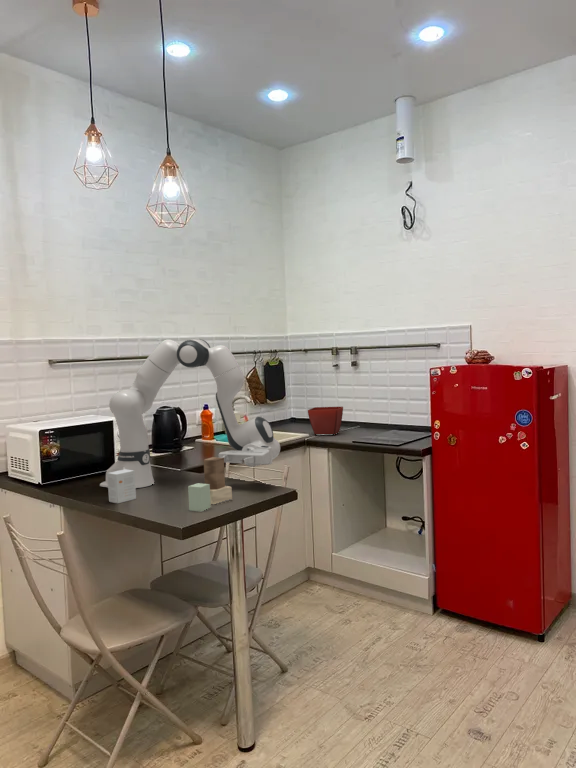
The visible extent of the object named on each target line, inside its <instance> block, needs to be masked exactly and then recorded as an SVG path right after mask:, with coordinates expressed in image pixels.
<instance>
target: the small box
mask: <svg viewBox="0 0 576 768" xmlns="http://www.w3.org/2000/svg"><path fill="white" fill-rule="evenodd" d="M107 477H108V488H107V490H108V501H109V502H110V503H114V504H120V503H125V502H128V501H133V500H136V499H137V490H136V489H137V488H135V472H134V470H127V469H124V470H119V471H115V472H110V473H107Z"/></svg>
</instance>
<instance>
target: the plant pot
mask: <svg viewBox="0 0 576 768" xmlns="http://www.w3.org/2000/svg"><path fill="white" fill-rule="evenodd" d="M343 413H344V406H321V407H320V406H319V407H318V406H317V407H312V408H309V409H307V415H308V419H309V424H310V425H311V429H312V431H313V433H314V435H315V434H336V433H338V432H339V433H340V429H341V425H342V420H343ZM339 433H338V434H339ZM336 435H337V434H336Z"/></svg>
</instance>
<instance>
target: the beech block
mask: <svg viewBox="0 0 576 768" xmlns="http://www.w3.org/2000/svg"><path fill="white" fill-rule="evenodd" d="M232 489H233V488H232V486H229V485H225V487H222V488H220V489H217V490H216V489H210V502H211V504H216V503H219V502H222V501H225V500H229V499H232V500H233V490H232Z"/></svg>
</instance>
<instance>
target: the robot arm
mask: <svg viewBox="0 0 576 768" xmlns="http://www.w3.org/2000/svg"><path fill="white" fill-rule="evenodd" d="M178 365H181V366H184V367H185V368H191V369H193V368H198V367H205V366H206V367H207V368H208V369H209V371H210V372H211V374H212V376H213V378H214V380H215V384H216V393H215V400H216V404H217V406H218V407H217V408H218V409H219V414H220V416H221V419H222V422H223V425H224V428H225V432H226V438H227V443H228V444H229V446H230V447H231V448H232V449H231V450H226V451H221V452H219V453H218V458H224V464H225V463H229V464H243V465H244V464H245V465H246V466H247V467H251V468H252V467H256V466H257V467H258V466H263V465H264V466H266V465H272V464H273V460H275V459H276V458H277V457H278V456H279V454H280V452H281V445H280V442H279V440H277V439H276V438H275V437H274V430H273V428H272V425H271V423H270V422H269V421H268V420H266V419H265V418H264V417H262V416H256V417H253V418H251V419H249V420H247V421H246V422H243V423H241V424H239V423H238V421H237V417H236V413H235V412H234V408H233V402H234V399H235V398H236V395H238V394H239V392H240V391H241V390H242V388H243V386H244V382H245V375H244V373H243V371H242V369H241V366H240V365H239V363H238V361H237V359H236V357H235V356H234V355H233V352H232V351H231V350H230V349H229V348H228V346H226V345H223V344H222V345H221V344H220V345H219V344H218V345H214V346H213V347H211V346H210V344H209V343H208V342H207V341H206V340H204V339H201V338H191V339H187V340H185V341H182V342H181V343H180V344H179V343H178V342H177V341H175V340H173V339H170V338H169V339H165V340H162V341H161V342H160V343H159V344H158V345H156V347H155V348H154V349H153V350H152V351H151V352H150V354H149V355H148V356H147V358H146V359H145V361H144V362H143V364H142V365H141V366H140V367H139V369H138V370H137V372H136V377H135V378H134V381H133V383H132V384H131V386H130V387H129V388H128V389H122V390H121V389H120V390H118V391H117V392H116V393H114V394H113V395H112V396H111V398H110V400H109V405H108V406H109V410H110V412H111V413H112V414H113V415H114V418H115V422H116V425H117V426H116V427H117V429H118V433H119V446H120V447H119V448H120V449H119V450H120V451H119V452H116V453H115V457H117V460H116V461H115V462H114V463H113V464H112V465H111V466H110V467H109V468H108V469H106V472H105V481H102V482H101V483H99V487H103V488H107V489H108V477H107V473H110V472H115V471H119V470H124V469H127V470H134V472H135V488H136V489H139V488H145V487H149V486H152V484H153V485H154V484H155V483H154V482H155V480H154V477H153V471H152V466H151V462H150V459H151V450H150V448H149V433H148V432H149V431H148V429H147V427H146V425H145V422H144V418H143V415H144V414H145V413H147V412H148V411H149V410H150V409H151V408H152V406H153V403H154V401H155V398H156V397H157V394H158V393H159V391H160V389H161V388H162V386H163V385H164V383H165V382H166V381H167V379H168V378H169V377H170V375H171V374H172V373H173V371H174V370H175V368H177V366H178ZM233 449H234V450H233Z"/></svg>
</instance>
